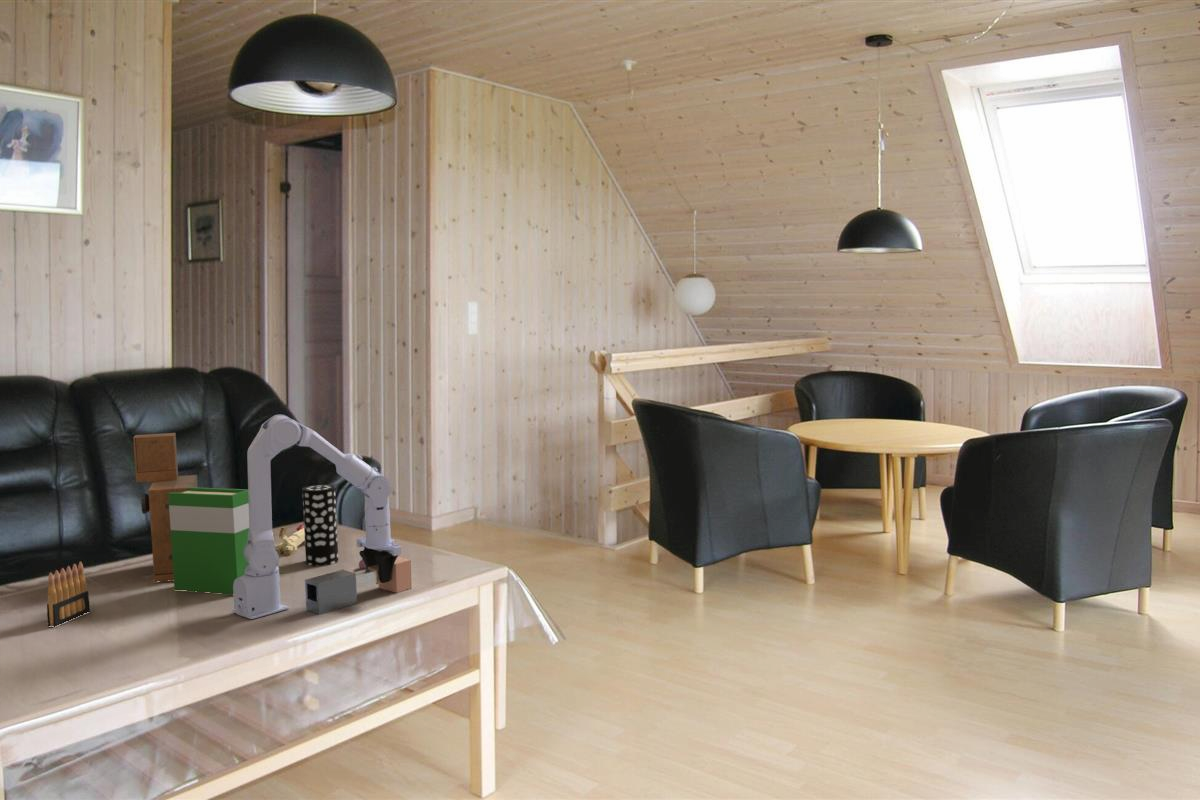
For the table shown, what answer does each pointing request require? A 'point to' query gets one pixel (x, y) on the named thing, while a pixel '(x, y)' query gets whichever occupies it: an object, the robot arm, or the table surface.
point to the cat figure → (290, 540)
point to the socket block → (399, 576)
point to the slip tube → (368, 577)
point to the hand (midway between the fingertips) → (380, 580)
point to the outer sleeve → (330, 591)
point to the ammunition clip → (67, 595)
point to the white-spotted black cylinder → (320, 525)
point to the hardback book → (208, 538)
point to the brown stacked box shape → (160, 493)
